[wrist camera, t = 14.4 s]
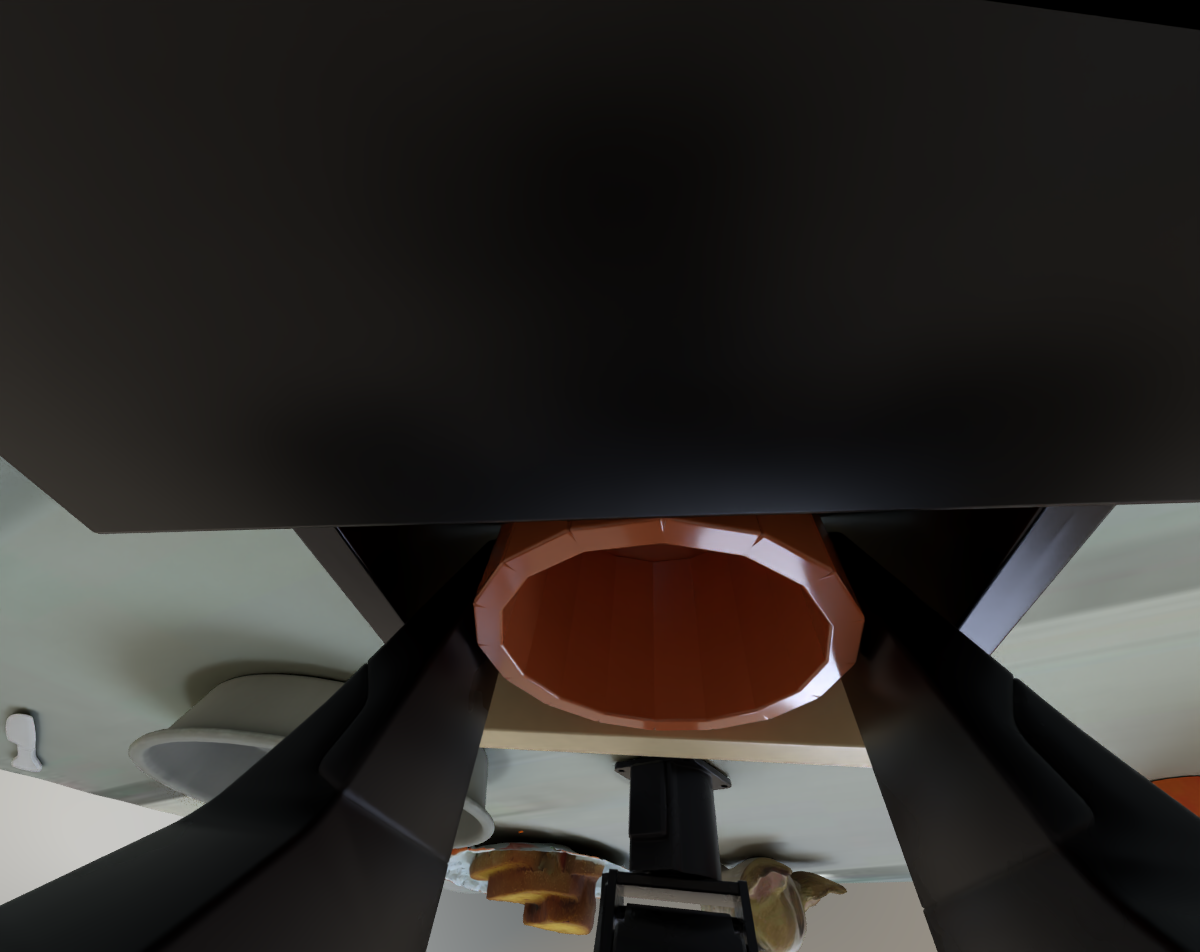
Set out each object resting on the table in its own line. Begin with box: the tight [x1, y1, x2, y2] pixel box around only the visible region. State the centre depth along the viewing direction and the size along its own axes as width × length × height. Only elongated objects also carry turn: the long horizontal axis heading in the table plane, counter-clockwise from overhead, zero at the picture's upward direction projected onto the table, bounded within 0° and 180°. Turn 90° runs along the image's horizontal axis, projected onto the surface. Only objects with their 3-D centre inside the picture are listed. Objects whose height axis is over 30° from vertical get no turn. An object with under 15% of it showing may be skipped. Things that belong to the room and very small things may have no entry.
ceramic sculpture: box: [700, 857, 847, 952], centre depth 44 cm, size 11×9×15 cm
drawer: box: [292, 505, 1116, 768], centre depth 9 cm, size 15×12×7 cm
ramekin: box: [473, 513, 865, 731], centre depth 9 cm, size 6×6×5 cm
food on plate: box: [445, 831, 629, 935], centre depth 53 cm, size 25×25×7 cm
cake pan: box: [129, 674, 495, 849], centre depth 32 cm, size 25×25×4 cm
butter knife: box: [6, 714, 42, 772], centre depth 42 cm, size 1×24×3 cm
